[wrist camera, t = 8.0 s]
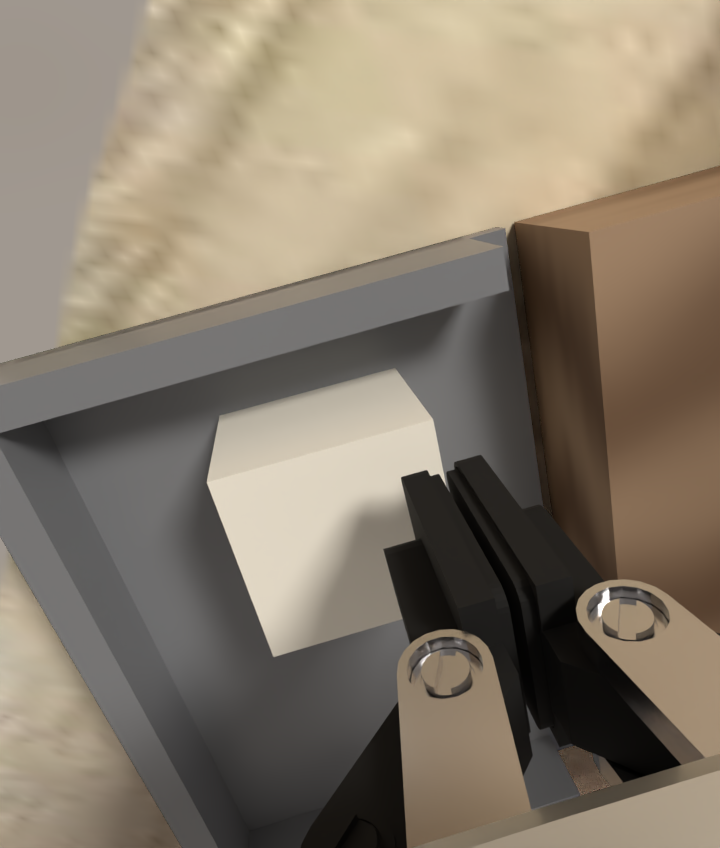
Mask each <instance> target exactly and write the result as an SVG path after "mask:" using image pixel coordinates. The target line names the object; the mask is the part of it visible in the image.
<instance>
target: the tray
mask: <svg viewBox="0 0 720 848" xmlns="http://www.w3.org/2000/svg"><path fill="white" fill-rule="evenodd" d="M393 368H395V369H396V370H397V371H398V373H399V374H400V375H401V377H402V378H403V379H404V381H405V382H406V383H407V385H408V386H409V387H410V389H411V390H412V392H413V393H414V394H415V396H416V397H417V398H418V400H419V401H420V402H421V404H422V405H423V406H424V408H425V409H426V410H427V412H428V413H429V415H430V416H431V417H432V419H433V421H434V426H435V431H436V436H437V441H438V446H439V452H440V457H441V462H442V467H443V472H444V477H445V482H446V487H447V489H448V490H449V486H448V481H447V476H446V472H447V471H450V470H454V462H456V461H460V460H463V459H467V458H470V457H474V456H477V455H482V456H483V458H484V459H485V460H486V462H487V463H488V464H489V466H490V467H491V468H492V470H493V471H494V472H495V474H496V475H497V476H498V478H499V479H500V480H501V482H502V483H503V484H504V486H505V487H506V488H507V490H508V491H509V492H510V494H511V495H512V496H513V498H514V499H515V500H516V502H517V503H518V504H519V506H520V507H521V508H522V509H525V508H528V507H532V506H535V505H542V506H543V501H542V494H541V486H540V479H539V472H538V465H537V457H536V450H535V443H534V435H533V428H532V421H531V414H530V406H529V399H528V392H527V384H526V377H525V370H524V363H523V355H522V348H521V341H520V333H519V326H518V319H517V312H516V304H515V297H514V290H513V282H512V275H511V268H510V261H509V253H508V246H507V239H506V231H505V228H499V227H495V228H492V229H488V230H484V231H481V232H477V233H473V234H470V235H466V236H462V237H459V238H455V239H452V240H448V241H444V242H441V243H437V244H433V245H430V246H426V247H422V248H419V249H415V250H411V251H408V252H404V253H401V254H397V255H393V256H390V257H386V258H382V259H379V260H375V261H371V262H368V263H364V264H360V265H357V266H353V267H350V268H346V269H342V270H339V271H335V272H331V273H328V274H324V275H320V276H317V277H313V278H309V279H306V280H302V281H298V282H295V283H291V284H288V285H284V286H280V287H277V288H273V289H269V290H266V291H262V292H258V293H255V294H251V295H247V296H244V297H240V298H237V299H233V300H229V301H226V302H222V303H218V304H215V305H211V306H207V307H204V308H200V309H196V310H193V311H189V312H185V313H182V314H178V315H175V316H171V317H167V318H164V319H160V320H156V321H153V322H149V323H145V324H142V325H138V326H134V327H131V328H127V329H124V330H120V331H116V332H113V333H109V334H105V335H102V336H98V337H94V338H91V339H87V340H83V341H80V342H76V343H72V344H69V345H65V346H62V347H58V348H54V349H51V350H47V351H43V352H40V353H36V354H33V355H29V356H25V357H22V358H18V359H14V360H11V361H7V362H3V363H0V537H1V539H2V541H3V542H4V544H5V546H6V548H7V549H8V551H9V553H10V554H11V556H12V558H13V560H14V561H15V563H16V565H17V566H18V568H19V570H20V571H21V573H22V575H23V577H24V578H25V580H26V582H27V583H28V585H29V587H30V589H31V590H32V592H33V594H34V595H35V597H36V599H37V601H38V602H39V604H40V606H41V607H42V609H43V611H44V613H45V614H46V616H47V618H48V619H49V621H50V623H51V625H52V626H53V628H54V630H55V631H56V633H57V635H58V636H59V638H60V640H61V642H62V643H63V645H64V647H65V648H66V650H67V652H68V654H69V655H70V657H71V659H72V660H73V662H74V664H75V666H76V667H77V669H78V671H79V672H80V674H81V676H82V678H83V679H84V681H85V683H86V684H87V686H88V688H89V690H90V691H91V693H92V695H93V696H94V698H95V700H96V701H97V703H98V705H99V707H100V708H101V710H102V712H103V713H104V715H105V717H106V719H107V720H108V722H109V724H110V725H111V727H112V729H113V731H114V732H115V734H116V736H117V737H118V739H119V741H120V743H121V744H122V746H123V748H124V749H125V751H126V753H127V755H128V756H129V758H130V760H131V761H132V763H133V765H134V766H135V768H136V770H137V772H138V773H139V775H140V777H141V778H142V780H143V782H144V784H145V785H146V787H147V789H148V790H149V792H150V794H151V796H152V797H153V799H154V801H155V802H156V804H157V806H158V808H159V809H160V811H161V813H162V814H163V816H164V818H165V819H166V821H167V823H168V825H169V826H170V828H171V830H172V831H173V833H174V835H175V837H176V838H177V840H178V842H179V843H180V845H181V847H182V848H301V844H302V842H303V840H304V838H305V836H306V834H307V832H308V831H309V829H310V827H311V825H312V824H313V822H314V821H315V819H316V818H317V817H318V815H319V814H320V812H321V811H322V809H323V808H324V807H325V805H326V804H327V802H328V801H329V799H330V798H331V797H332V795H333V794H334V792H335V791H336V789H337V788H338V787H339V785H340V784H341V782H342V781H343V779H344V778H345V777H346V775H347V774H348V772H349V771H350V769H351V768H352V767H353V765H354V764H355V762H356V761H357V759H358V758H359V757H360V755H361V754H362V752H363V751H364V749H365V748H366V747H367V745H368V744H369V742H370V741H371V739H372V738H373V736H374V735H375V734H376V732H377V731H378V729H379V728H380V726H381V725H382V724H383V722H384V721H385V719H386V718H387V716H388V715H389V714H390V712H391V711H392V709H393V708H394V706H395V705H396V704H397V702H398V687H397V668H398V661H399V659H400V658H401V656H402V654H403V652H404V650H405V649H406V648H407V647H408V646H409V645H410V642H409V639H408V636H407V632H406V629H405V625H404V622H403V619H401V620H398V621H394V622H391V623H388V624H384V625H381V626H377V627H374V628H371V629H367V630H364V631H360V632H357V633H354V634H350V635H347V636H343V637H340V638H337V639H333V640H330V641H326V642H323V643H320V644H316V645H313V646H310V647H306V648H303V649H299V650H296V651H293V652H289V653H286V654H282V655H279V656H276V657H273V654H272V652H271V649H270V647H269V644H268V641H267V639H266V636H265V634H264V631H263V628H262V626H261V623H260V621H259V618H258V615H257V613H256V610H255V607H254V605H253V602H252V600H251V597H250V594H249V592H248V589H247V587H246V584H245V581H244V579H243V576H242V573H241V571H240V568H239V566H238V563H237V560H236V558H235V555H234V553H233V550H232V547H231V545H230V542H229V540H228V537H227V534H226V532H225V529H224V526H223V524H222V521H221V519H220V516H219V513H218V511H217V508H216V506H215V503H214V500H213V498H212V495H211V493H210V490H209V487H208V485H207V478H208V473H209V468H210V462H211V457H212V452H213V447H214V442H215V437H216V431H217V426H218V421H219V416H220V415H224V414H227V413H231V412H235V411H238V410H242V409H246V408H249V407H253V406H257V405H261V404H264V403H268V402H272V401H275V400H279V399H283V398H286V397H290V396H294V395H297V394H301V393H305V392H308V391H312V390H316V389H319V388H323V387H327V386H331V385H334V384H338V383H342V382H345V381H349V380H353V379H356V378H360V377H364V376H367V375H371V374H375V373H378V372H382V371H386V370H389V369H393ZM449 492H450V491H449ZM526 706H527V705H526ZM527 712H528V718H529V724H530V730H531V732H530V733H529V737H530V743H531V748H532V754H533V756H532V759H531V761H530V763H529V765H528V767H527V769H526V771H525V774H524V776H523V779H524V782H525V786H526V790H527V794H528V798H529V802H530V806H531V810H536V809H539V808H542V807H545V806H549V805H552V804H555V803H558V802H562V801H565V800H568V799H572V798H575V797H578V796H580V793H579V791H578V789H577V787H576V785H575V783H574V782H573V780H572V778H571V776H570V774H569V772H568V770H567V768H566V766H565V764H564V762H563V761H562V759H561V757H560V755H559V753H558V750H561V749H564V748H568V747H571V746H574V745H572V744H569V745H566V746H562V747H559V745H558V743H557V741H556V739H555V737H554V735H553V733H552V731H551V729H550V727H548V728H545V729H542V730H540V729H539V728H538V727H537V725H536V723H535V721H534V719H533V717H532V715H531V713H530V711H529V709H528V707H527Z"/></svg>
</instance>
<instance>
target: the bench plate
mask: <svg viewBox="0 0 720 848" xmlns="http://www.w3.org/2000/svg"><path fill="white" fill-rule="evenodd" d="M514 224H515V232H516V240H517V247H518V255H519V263H520V270H521V278H522V286H523V293H524V301H525V308H526V316H527V324H528V331H529V339H530V347H531V354H532V362H533V370H534V377H535V385H536V393H537V400H538V408H539V416H540V423H541V431H542V439H543V446H544V454H545V462H546V469H547V477H548V484H549V492H550V500H551V507H552V515H553V519H554V520H555V521H556V523H557V524H558V525H559V526H560V527H561V529H562V530H563V531H564V532H565V534H566V535H567V536H568V537H569V538H570V540H571V541H572V542H573V543H574V545H575V546H576V547H577V548H578V549H579V551H580V552H581V553H582V554H583V555H584V557H585V558H586V559H587V560H588V562H589V563H590V564H591V565H592V566H593V568H594V569H595V570H596V571H597V573H598V574H599V575H600V576H601V577H602V579H603V580H604V581H609V580H623V579H626V580H633V581H640V582H643V583H646V584H649V585H652V586H655V587H657V588H658V589H660V590H662V591H663V592H665V593H666V594H668V595H669V596H671V597H672V598H673V599H674V600H675V601H677V602H678V603H679V604H680V605H682V606H683V607H684V608H685V609H687V610H688V611H689V612H690V613H692V614H693V615H694V616H695V617H697V618H698V619H699V620H700V621H702V622H703V623H704V624H705V625H707V626H708V627H709V628H710V629H712V630H713V631H714V632H716V633H720V166H718V167H714V168H710V169H707V170H703V171H699V172H696V173H692V174H688V175H685V176H681V177H678V178H674V179H670V180H667V181H663V182H659V183H656V184H652V185H648V186H645V187H641V188H637V189H634V190H630V191H627V192H623V193H619V194H616V195H612V196H608V197H605V198H601V199H597V200H594V201H590V202H586V203H583V204H579V205H575V206H572V207H568V208H565V209H561V210H557V211H554V212H550V213H546V214H543V215H539V216H535V217H532V218H528V219H524V220H521V221H517V222H514Z"/></svg>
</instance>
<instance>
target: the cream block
mask: <svg viewBox="0 0 720 848" xmlns="http://www.w3.org/2000/svg"><path fill="white" fill-rule="evenodd" d="M424 470H427V471H428V472H429V474H430V476H433V475H436V474H439V475H440V476H441V478H442V480H443V482H444V483H445V485H446V482H445V477H444V472H443V467H442V462H441V457H440V452H439V446H438V441H437V436H436V431H435V426H434V421H433V419H432V417H431V416H430V415H429V413H428V412H427V410H426V409H425V408H424V406H423V405H422V404H421V402H420V401H419V400H418V398H417V397H416V396H415V394H414V393H413V392H412V390H411V389H410V387H409V386H408V385H407V383H406V382H405V381H404V379H403V378H402V377H401V375H400V374H399V373H398V371H397V370H396V369H395V368H393V369H389V370H386V371H382V372H378V373H375V374H371V375H367V376H364V377H360V378H356V379H353V380H349V381H345V382H342V383H338V384H334V385H331V386H327V387H323V388H319V389H316V390H312V391H308V392H305V393H301V394H297V395H294V396H290V397H286V398H283V399H279V400H275V401H272V402H268V403H264V404H261V405H257V406H253V407H249V408H246V409H242V410H238V411H235V412H231V413H227V414H224V415H220V416H219V421H218V426H217V431H216V437H215V442H214V447H213V452H212V457H211V462H210V468H209V473H208V478H207V485H208V487H209V490H210V493H211V495H212V498H213V500H214V503H215V506H216V508H217V511H218V513H219V516H220V519H221V521H222V524H223V526H224V529H225V532H226V534H227V537H228V540H229V542H230V545H231V547H232V550H233V553H234V555H235V558H236V560H237V563H238V566H239V568H240V571H241V573H242V576H243V579H244V581H245V584H246V587H247V589H248V592H249V594H250V597H251V600H252V602H253V605H254V607H255V610H256V613H257V615H258V618H259V621H260V623H261V626H262V628H263V631H264V634H265V636H266V639H267V641H268V644H269V647H270V649H271V652H272V654H273V657H276V656H279V655H282V654H286V653H289V652H293V651H296V650H299V649H303V648H306V647H310V646H313V645H316V644H320V643H323V642H326V641H330V640H333V639H337V638H340V637H343V636H347V635H350V634H354V633H357V632H360V631H364V630H367V629H371V628H374V627H377V626H381V625H384V624H388V623H391V622H394V621H398V620H401V619H402V615H401V612H400V608H399V605H398V601H397V598H396V594H395V591H394V587H393V583H392V580H391V576H390V572H389V569H388V565H387V561H386V558H385V554H384V550H383V549H385V548H388V547H392V546H395V545H399V544H402V543H406V542H409V541H413V540H415V535H414V531H413V527H412V523H411V519H410V515H409V511H408V507H407V503H406V499H405V494H404V490H403V486H402V482H401V477H403V476H407V475H410V474H414V473H417V472H421V471H424Z"/></svg>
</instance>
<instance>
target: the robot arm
mask: <svg viewBox="0 0 720 848" xmlns="http://www.w3.org/2000/svg"><path fill="white" fill-rule="evenodd" d="M446 476H447V481H448V486H449V490H448V489H447V487H446V485H445V483H444V482H443V480H442V478H441V476H440V475H439V474H436V475H433V476H430V474H429V472H428V471H427V470H424V471H421V472H417V473H414V474H410V475H407V476H403V477H401V482H402V486H403V490H404V494H405V499H406V503H407V507H408V511H409V515H410V519H411V523H412V527H413V531H414V535H415V540H413V541H409V542H406V543H402V544H399V545H395V546H392V547H388V548H385V549H383V550H384V554H385V558H386V561H387V565H388V569H389V572H390V576H391V580H392V583H393V587H394V591H395V594H396V598H397V601H398V605H399V608H400V612H401V615H402V619H403V622H404V625H405V629H406V632H407V636H408V639H409V642H410V645H409V646H408V647H407V648H406V649H405V650H404V652H403V654H402V656H401V658H400V659H399V661H398V668H397V687H398V702H397V704H396V705H395V706H394V708H393V709H392V711H391V712H390V714H389V715H388V716H387V718H386V719H385V721H384V722H383V724H382V725H381V726H380V728H379V729H378V731H377V732H376V734H375V735H374V736H373V738H372V739H371V741H370V742H369V744H368V745H367V747H366V748H365V749H364V751H363V752H362V754H361V755H360V757H359V758H358V759H357V761H356V762H355V764H354V765H353V767H352V768H351V769H350V771H349V772H348V774H347V775H346V777H345V778H344V779H343V781H342V782H341V784H340V785H339V787H338V788H337V789H336V791H335V792H334V794H333V795H332V797H331V798H330V799H329V801H328V802H327V804H326V805H325V807H324V808H323V809H322V811H321V812H320V814H319V815H318V817H317V818H316V819H315V821H314V822H313V824H312V825H311V827H310V829H309V831H308V832H307V834H306V836H305V838H304V840H303V842H302V844H301V848H720V633H716V632H714V631H713V630H712V629H710V628H709V627H708V626H707V625H705V624H704V623H703V622H702V621H700V620H699V619H698V618H697V617H695V616H694V615H693V614H692V613H690V612H689V611H688V610H687V609H685V608H684V607H683V606H682V605H680V604H679V603H678V602H677V601H675V600H674V599H673V598H672V597H671V596H669V595H668V594H666V593H665V592H663V591H662V590H660V589H658V588H657V587H655V586H652V585H649V584H646V583H643V582H640V581H633V580H626V579H623V580H609V581H604V580H603V579H602V577H601V576H600V575H599V574H598V573H597V571H596V570H595V569H594V568H593V566H592V565H591V564H590V563H589V562H588V560H587V559H586V558H585V557H584V555H583V554H582V553H581V552H580V551H579V549H578V548H577V547H576V546H575V545H574V543H573V542H572V541H571V540H570V538H569V537H568V536H567V535H566V534H565V532H564V531H563V530H562V529H561V527H560V526H559V525H558V524H557V523H556V521H555V520H554V519H553V518H552V516H551V515H550V514H549V513H548V512H547V510H546V509H545V508H544V507H543V506H542V505H535V506H532V507H528V508H525V509H522V508H521V507H520V506H519V504H518V503H517V502H516V500H515V499H514V498H513V496H512V495H511V494H510V492H509V491H508V490H507V488H506V487H505V486H504V484H503V483H502V482H501V480H500V479H499V478H498V476H497V475H496V474H495V472H494V471H493V470H492V468H491V467H490V466H489V464H488V463H487V462H486V460H485V459H484V458H483V456H482V455H477V456H474V457H470V458H467V459H463V460H460V461H456V462H454V470H450V471H447V472H446ZM449 491H450V492H449ZM526 705H527V706H526ZM527 707H528V709H529V711H530V713H531V715H532V717H533V719H534V721H535V723H536V725H537V727H538V728H539V729H540V730H542V729H545V728H548V727H550V729H551V731H552V733H553V735H554V737H555V739H556V741H557V743H558V745H559V747H562V746H566V745H569V744H572V745H575V746H577V747H579V748H582V749H584V750H586V751H589V752H591V753H592V754H593V759H594V762H595V764H596V766H597V768H598V769H599V771H600V773H601V774H602V776H603V777H604V778H605V780H606V781H607V782H608V784H609V785H610V786H611V787H608V788H604V789H601V790H598V791H595V792H591V793H588V794H585V795H581V796H578V797H575V798H572V799H568V800H565V801H562V802H558V803H555V804H552V805H549V806H545V807H542V808H539V809H536V810H531V806H530V802H529V798H528V794H527V790H526V786H525V782H524V779H523V776H524V774H525V771H526V769H527V767H528V765H529V763H530V761H531V759H532V756H533V754H532V748H531V743H530V737H529V733H530V732H531V730H530V724H529V718H528V712H527Z"/></svg>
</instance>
